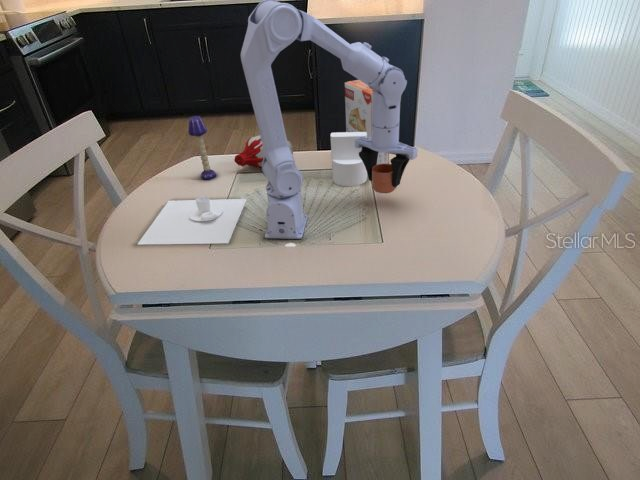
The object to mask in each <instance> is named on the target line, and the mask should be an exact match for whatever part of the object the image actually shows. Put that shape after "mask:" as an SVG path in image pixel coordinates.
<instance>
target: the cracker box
mask: <svg viewBox="0 0 640 480" xmlns="http://www.w3.org/2000/svg"><path fill="white" fill-rule="evenodd" d="M374 91H375V90H374ZM375 92H377V91H375ZM372 94H373V89H370V88H369V86H368V85H366V84H365V83H363V82H362V81H360V80H359V79H355V80H348V81H345V82H344V102H345V103H344V104H345V132H366V133H367V138H372ZM377 164H390V154H389V153H385V152H379V153H378V158H377Z"/></svg>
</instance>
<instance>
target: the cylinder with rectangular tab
mask: <svg viewBox="0 0 640 480" xmlns="http://www.w3.org/2000/svg"><path fill="white" fill-rule="evenodd" d="M358 137H364V138H367V133H366V132H346V131H341V132H340V131H338V132H337V131H336V132H331V133H330V153H331V155H330V156H331V176H332V182H333V183H334V184H335V185H337V186H339V187H340V186H342V187H356V186H360V185H363V184H364V183H366V182H367V180H368V174H367V171H366V168H365V165H364V163H363V161H362V160H361V158H360V157H359V152H360V151H361V150H362V147H360V148H355V139H357V138H358Z"/></svg>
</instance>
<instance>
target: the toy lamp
mask: <svg viewBox="0 0 640 480" xmlns="http://www.w3.org/2000/svg"><path fill="white" fill-rule="evenodd" d="M207 133H208V129H207V127H206V124H205V123H204V120H203V119H202V117H201V116H199V115H194V116H191V117H189V119H188V134H189V136H192V137H195V138H196V143H197V145H198V146H197V148H198V150H199V155H200V160H201V164H202V169H203V171H202V172H201V174H200V180H203V181H209V180H210V181H211V180H214V179H215V178H216V177H217V173H216V171H215V170H214V169H211V166H210V162H209V157H208V155H207V154H208V153H207V149H206V144H205V139H204V136H203V135H206V134H207Z"/></svg>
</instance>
